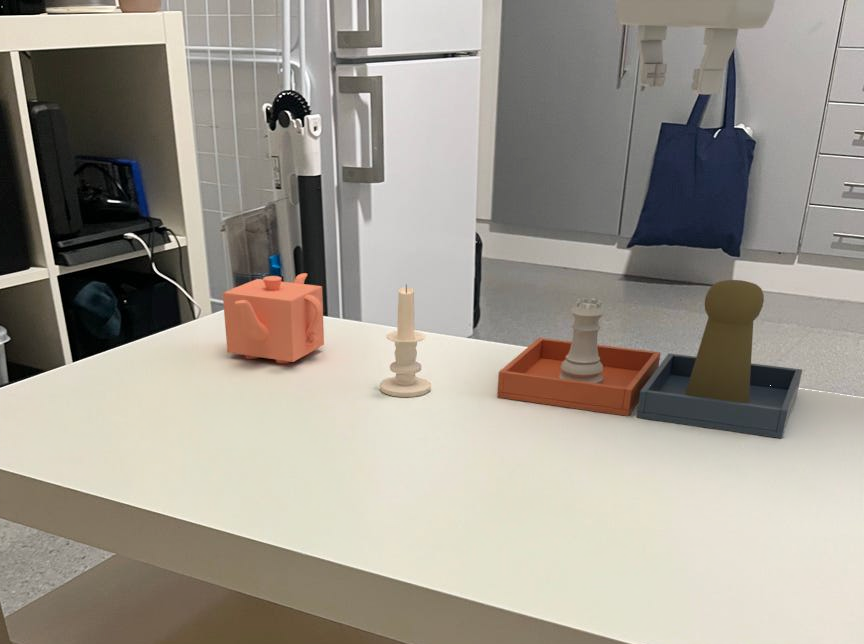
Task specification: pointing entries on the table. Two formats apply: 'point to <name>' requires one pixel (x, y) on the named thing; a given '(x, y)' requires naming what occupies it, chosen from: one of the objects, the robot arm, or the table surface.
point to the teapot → (274, 319)
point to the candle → (405, 352)
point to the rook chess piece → (584, 344)
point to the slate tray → (757, 417)
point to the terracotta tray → (540, 382)
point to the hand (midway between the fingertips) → (676, 89)
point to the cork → (727, 342)
